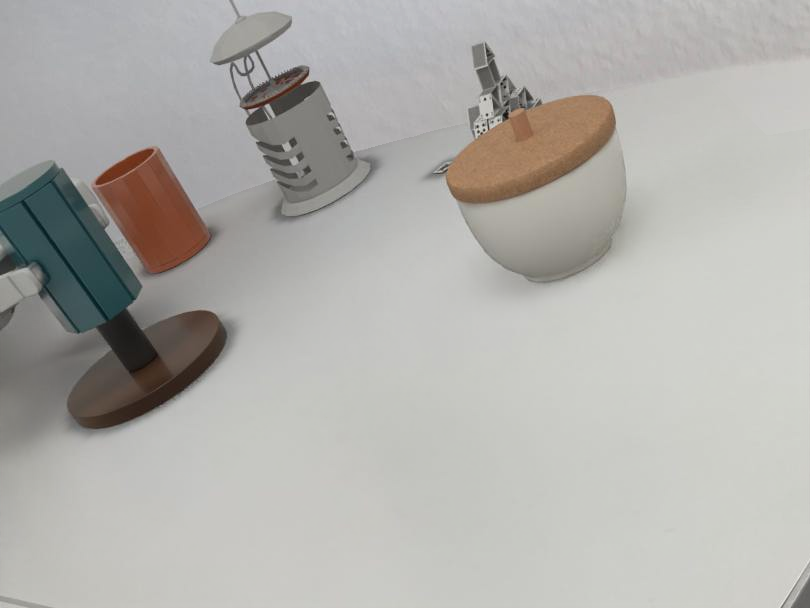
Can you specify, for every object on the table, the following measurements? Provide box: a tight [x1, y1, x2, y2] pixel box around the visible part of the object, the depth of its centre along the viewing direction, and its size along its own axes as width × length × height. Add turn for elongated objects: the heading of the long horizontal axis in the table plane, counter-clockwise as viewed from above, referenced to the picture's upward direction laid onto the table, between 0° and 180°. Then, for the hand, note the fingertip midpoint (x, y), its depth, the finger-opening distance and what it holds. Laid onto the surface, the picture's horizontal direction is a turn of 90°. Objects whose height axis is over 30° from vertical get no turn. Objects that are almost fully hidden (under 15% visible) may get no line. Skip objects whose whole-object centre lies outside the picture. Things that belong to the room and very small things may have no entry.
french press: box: [209, 0, 371, 217], centre depth 88 cm, size 10×12×25 cm
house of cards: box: [433, 40, 543, 174], centre depth 83 cm, size 9×9×8 cm
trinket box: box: [445, 94, 628, 284], centre depth 62 cm, size 11×11×9 cm
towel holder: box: [66, 307, 228, 430], centre depth 75 cm, size 14×14×15 cm
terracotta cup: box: [90, 145, 212, 274], centre depth 97 cm, size 7×7×9 cm
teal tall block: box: [0, 159, 143, 335], centre depth 73 cm, size 6×6×10 cm
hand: (70, 245), depth 72 cm, fingers closed on teal tall block, 7 cm apart
